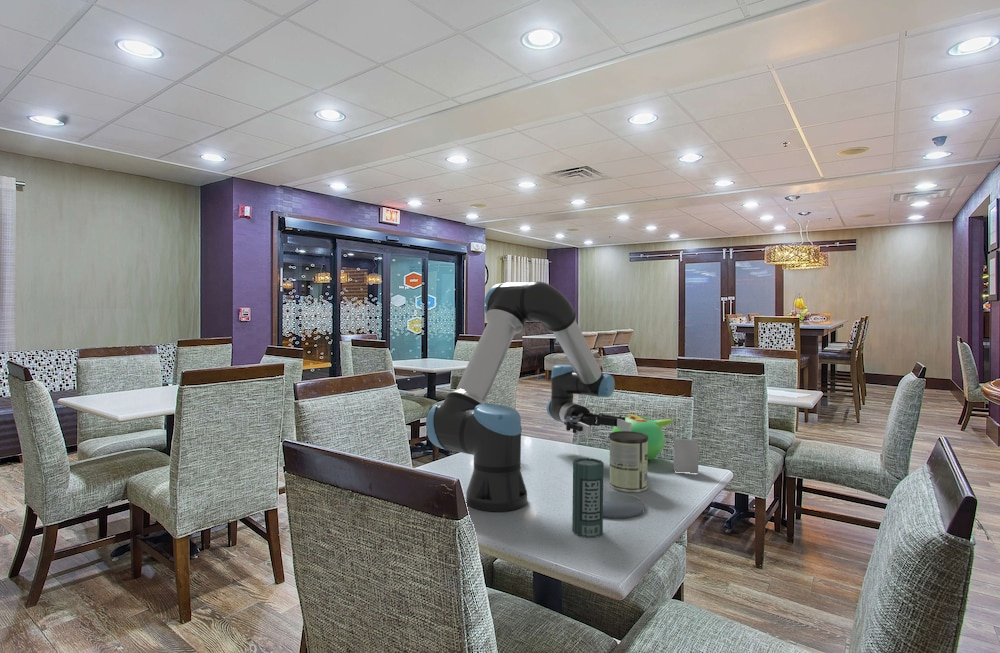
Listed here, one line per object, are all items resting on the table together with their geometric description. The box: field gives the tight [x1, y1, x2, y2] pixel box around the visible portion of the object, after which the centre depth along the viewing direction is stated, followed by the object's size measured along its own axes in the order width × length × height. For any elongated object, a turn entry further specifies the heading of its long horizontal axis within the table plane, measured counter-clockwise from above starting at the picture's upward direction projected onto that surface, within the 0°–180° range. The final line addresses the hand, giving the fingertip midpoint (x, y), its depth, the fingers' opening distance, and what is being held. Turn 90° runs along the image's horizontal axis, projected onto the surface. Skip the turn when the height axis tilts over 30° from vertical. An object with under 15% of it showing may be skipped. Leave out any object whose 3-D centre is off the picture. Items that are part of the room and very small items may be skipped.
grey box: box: [672, 438, 699, 474], centre depth 159 cm, size 4×7×10 cm, turn 75°
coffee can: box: [608, 431, 649, 493], centre depth 145 cm, size 10×10×14 cm
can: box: [571, 457, 605, 539], centre depth 114 cm, size 6×6×15 cm
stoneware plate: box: [603, 490, 645, 520], centre depth 130 cm, size 16×16×1 cm
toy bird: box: [611, 413, 674, 460], centre depth 175 cm, size 18×17×15 cm
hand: (610, 429), depth 155 cm, fingers open, 13 cm apart
